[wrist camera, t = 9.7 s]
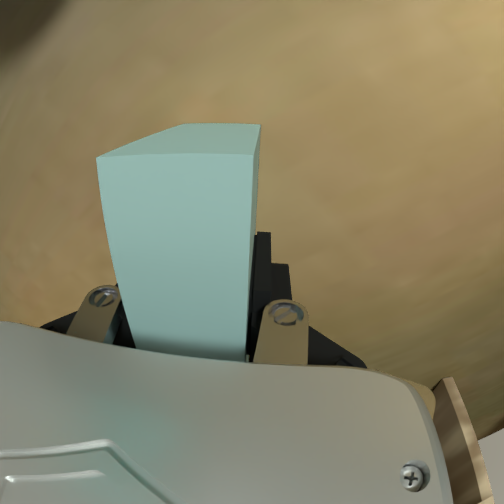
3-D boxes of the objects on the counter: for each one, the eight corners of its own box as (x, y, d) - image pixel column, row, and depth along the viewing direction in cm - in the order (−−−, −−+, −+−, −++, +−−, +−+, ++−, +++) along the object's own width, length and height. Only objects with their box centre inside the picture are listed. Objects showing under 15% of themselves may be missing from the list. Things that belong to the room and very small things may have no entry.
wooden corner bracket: (452, 376, 19) (495, 507, 7) (391, 446, 27) (405, 540, 15) (338, 389, 20) (355, 561, 8) (304, 456, 27) (306, 559, 15)
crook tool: (411, 145, 11) (518, 199, 5) (324, 417, 22) (330, 488, 16) (184, 123, 11) (96, 157, 5) (207, 413, 22) (196, 485, 16)
